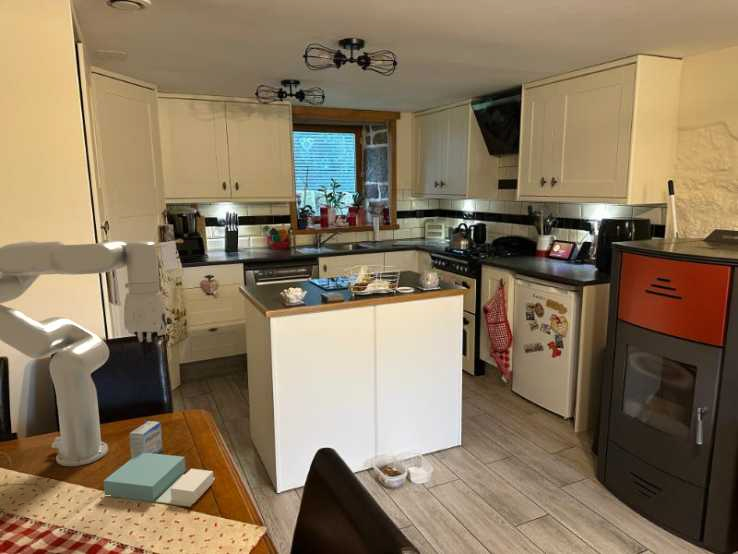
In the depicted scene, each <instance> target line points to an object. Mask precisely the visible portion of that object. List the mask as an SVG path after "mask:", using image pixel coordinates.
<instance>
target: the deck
mask: <svg viewBox="0 0 738 554" xmlns="http://www.w3.org/2000/svg"><path fill="white" fill-rule="evenodd" d="M185 459H186V458H185V456H180V455H171V454H170V455H169V454H161V453H158V454H153V453H143V452H140V453H138V454H137V455H136V456H134V457H133V458H132V459H129V460H128V461H127V462H126V463H124V464H123V465H122V466H120V467H119V468H117V469H116V470H115V471H114V472H112V473H111V474H110V475H109V476H107V477H106V478H105V479H104V480H103V488H104V490H103V491H104V496H105V495H111V496H116V497H115V498H117V497H121V498H120V499H125V498H128V500H134V501H135V500H136V501H142V502H149V503H154V502H155V501H156V500H157V499H158V498H159V497H160V496H161V495H162V494H163V493H164V492H165V491H166V490H167V489H168V488H169V487H170V486H171V485H172V484H173V483H174V482H175V481H177V480H178V479H179V478H180V477H181V476H182V475H183V474H184V473H185V472H186V460H185Z"/></svg>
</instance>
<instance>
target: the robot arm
mask: <svg viewBox="0 0 738 554" xmlns="http://www.w3.org/2000/svg"><path fill="white" fill-rule="evenodd" d="M121 268H126V272H127V274H126V275H127V282H126V283H125V284H124V288H126V289H127V290H128V293H126V294H125V298H124V307H123V315H124V316H123V319H124V322H123V324H124V328H125V330H126V331H127V332H128V333H129V334H132V335H135V336H136V337H137V338H138V341H139V342H140V343H141V345H140V346H141V354H142V357H148V358H149V357H152V356H153V355H155V354H156V344H155V343H156V342H155V341H156V340H157V338H158V337H159V336H163V335H166V334H167V325H168V316H167V310H166V304H165V299H164V295H163V293H162V292H161V290H160V275H159V259H158V247H157V244H156V243H155V242H153V241H150V240H149V241H148V240H140V241H129V240H123V239H122V240H121V239H113V240H108V241H101V242H97V243H95V242H94V243H86V244H83V243H82V244H64V243H63V242H62V241H43V242H42V241H41V242H37V241H32V240H31V241H30V240H29V241H22V242H21V241H20V242H16V243H15V242H14V243H9V244H6V245H3V246H1V247H0V341H1V342H2V343H5V344H7V345H8V346H10V347H11V348H13V349H15V350H16V351H18V352H20V353H22V354H23V355H25V356H27V357H29V358H31V359H34V360H41V359H45V358H47V357H48V358H49V356H52V355H53V356H52V357H51V360H50V362H49V373H50V374H49V375H50V376H51V380H52V382H53V385H54V389H55V395H56V397H55V398H56V406H57V414H58V422H59V423H58V424H59V432H60V433H59V434H60V436H56V437H55V438H54V439H53V442H52V443H51V448H53V449H58V453H57V454H56V457H55V460H56V463H57V464H58V465H60V466H64V467H78V466H83V465H88V464H90V463H93V462H96V461H98V460H99V459H101V458H103V457H104V456H105V455H106V454H107V453H108V451H109V446H108V444H107V443H106V442H104V441H102V437H101V436H102V435H101V424H100V415H99V414H100V413H99V412H100V411H99V403H98V394H97V388H96V385H95V382H94V380H93V379H92V376H91V374H92V373H93V372H95V371H96V370H97V369H98V370H99V368H101V367H102V366H103V365H104V364H105V363H106V362H107V361H108V359H109V357H110V349H109V347H108V344H107V343H106V342H105V341H104V340H103V339H102V338H100V336H97V335H96V334H94V332H93V333H92V332H91V331H90V330H88V329H86V328H84V327H82V326H81V325H80V324H77V323H76V322H74V321H72V320H70V319H68V318H64V317H59V316H54V317H48V318H46V319H44V320H37V319H34V318H33V317H31V316H28V315H26V314H25V313H23V312H22V311H21V310H18V309H15V308H13V307H12V308H11V307H8V306H5V305H2V304H3V303H6V302H7V303H8V302H10V301H13V300H16V299H18V298H19V297H21V296H22V295H23V294H25V292H26V291H27V290H28V289H29V288H30V287H31V286H32V285H33V284H34V282H36V280H37V279H38V278H39V277H40V276H42V275H73V276H74V275H93V274H104V273H108V272H112V271H114V270H119V269H121Z"/></svg>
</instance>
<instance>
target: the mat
mask: <svg viewBox="0 0 738 554" xmlns="http://www.w3.org/2000/svg"><path fill="white" fill-rule="evenodd" d="M185 474H186V473H185ZM185 474H184V473H183V474H182V475H181V476H180V477H179V478H178V479H177V480H176V481H175V482H174V483H173V484H172V485H171V486H170V487H169V488H167V489H166V490H165V491H164V492H163V493H162V494H161V495H160V496H159V497H158V498H157V499H156V500H155V501H154V502H155V503H158V504H165V505H166V504H167V505H174V506H180V507H181V506H182V507H189V508H191V507H192V506H193V505H194V503H189V502H182V501H175V500H171V489H170V488H171V487H172V486H174V485H175V484H176V483H177V482H178V481H179V480H180V479H181V478H182V477H183V476H184V475H185ZM215 480H216V477H213V482H215Z"/></svg>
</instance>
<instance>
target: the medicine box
mask: <svg viewBox="0 0 738 554" xmlns="http://www.w3.org/2000/svg"><path fill="white" fill-rule="evenodd" d="M129 447H130V454H131V455H130V456H131V459H132V458H133V457H134V456H136V455H137V454H138V453H140V452H143V453H153V454H160V453H161V452H162V451H163V439H162V423H161V422H159V421H149V420H148V421H145V422H144V423H143V424H141V425H140V426H138V427H136V429H134V430H133V431H130V432H129ZM131 459H130V460H131Z"/></svg>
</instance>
